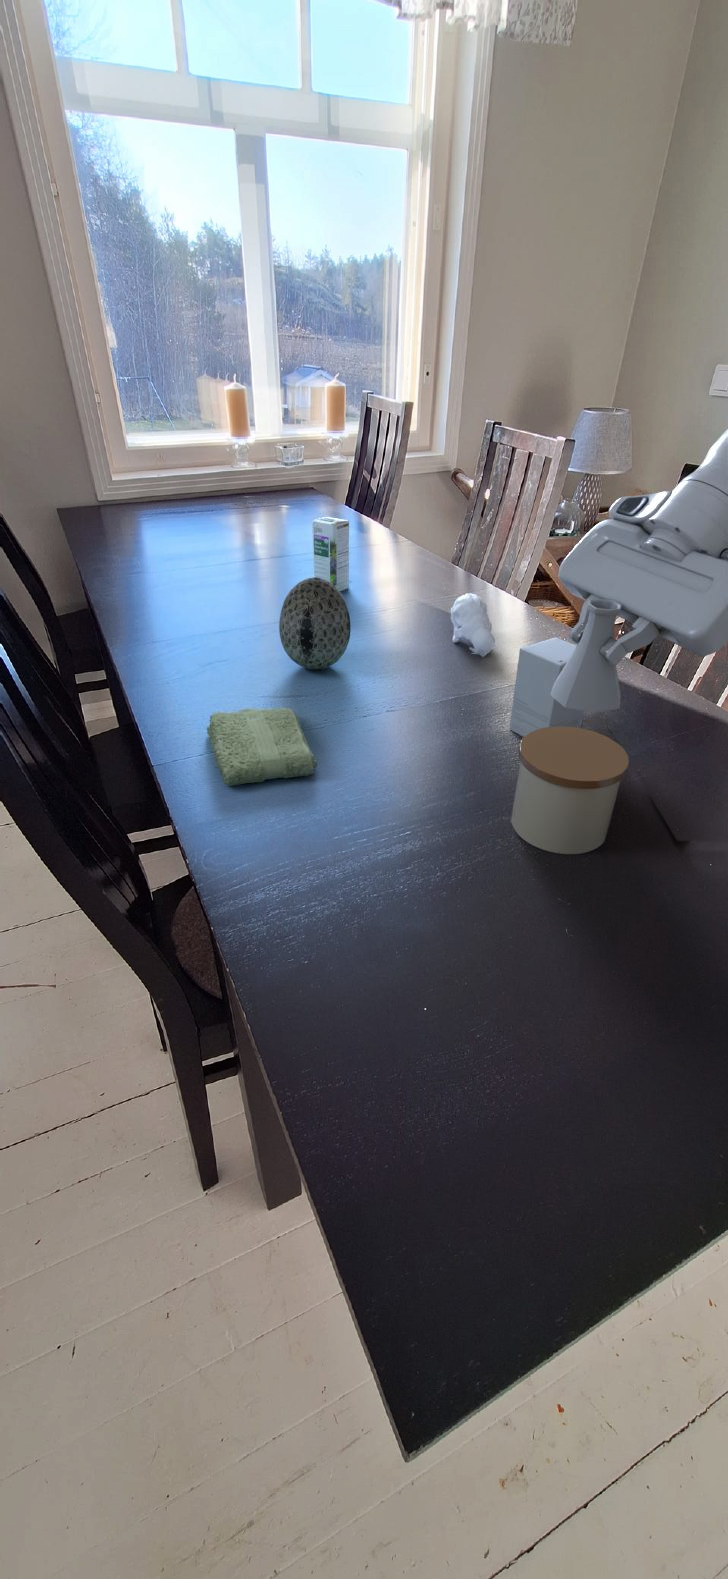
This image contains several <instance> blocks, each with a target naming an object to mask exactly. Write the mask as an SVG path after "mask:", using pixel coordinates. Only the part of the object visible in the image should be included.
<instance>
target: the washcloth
mask: <svg viewBox="0 0 728 1579" xmlns="http://www.w3.org/2000/svg"><path fill="white" fill-rule="evenodd" d="M300 724H301V722H300V719H299V718H298V715H297V712H296V711H295V710H294V709H292V708H288V707H276V708H244V709H240V710H238V711H234V712H233V711H232V712H227V711H216V712H213V713H212V715H210V716H209V725H208V726H207V727H206V734H207V736H208V738H209V742H210V745H211V748H212V753H213V756H214V760H215V762H216V767H217V768H218V771H219V773H220V775H221V777H222V781H223V783H224V784H225V785H226V786H227V787H233V786H238V785H242V784H252V783H253V784H254V783H262V782H264V781H265V780H273V779H278V778H282V779H290V778H298V777H308V776H309V775H313V774H314V773H315V770H314V769H316V768H317V766H318V761H317V760H316V758H315V756H314V753H313V751H312V750H311V748H310V745H309V743H308V740H307V739H306V737H305V734H304V732H303V730H302V726H300Z"/></svg>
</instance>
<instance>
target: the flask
mask: <svg viewBox="0 0 728 1579" xmlns="http://www.w3.org/2000/svg"><path fill="white" fill-rule="evenodd" d="M621 606H622V605H621V604H620V603H618V602H616V601H614V600H607V599H594V600H589V603H588V610H589V617H588V622H587V624H586V627H585V630H584V632H583V635H582V637H581V639H580V641H579V643H578V644H576V648H575V650H574V651H573V653H572V655H571V657H570V658H569V660H568V661H567V663H566V665H565V666H564V668H563V669H562V671H561V673H560V674H559V676H558V678H557V679H556V681H555V683H554V685H553V688H552V691H551V696H552V697H553V698H554V699H556V700H557V701H558V702H559V703H560V704H561V705H562V706H564V707H565V708H570V709H577V710H583V711H584V712H590V713H600V712H607V711H613V710H620V706H621V697H622V694H621V688H620V680H619V676H618V668H617V665H613V664H611V663H609V662H608V661H606V660H605V659H604V658H603V657H602V656H601V655H600V654H599V650H600V648H601V647H602V646H604V645H605V644H606V642H607V641H608V639H609V638H610V637H611V638H613V639H615V624H616V620H617V617H618V616H617V615H619V614H620V612H621Z"/></svg>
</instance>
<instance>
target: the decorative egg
mask: <svg viewBox="0 0 728 1579" xmlns="http://www.w3.org/2000/svg"><path fill="white" fill-rule="evenodd" d="M351 625H352V624H351V615H350V612H349V607H348V604H347V602H346V600H345V598H344V596H343V595H342V593H341V591H340V592H339V590H338V589H337V588H336V587H335V586H334V585H333V584H332V583H330V582H329V581H327V580H324V579H322V578H316V577H314V576H312V577H308V578H305V579H303V580H301V581H299V582H298V583H296V584H295V585H294V586H293V587H292V588H291V589H290V591H289V592H288V593H287V594H286V597H285V599H284V601H283V603H282V606H281V610H280V615H279V622H278V629H279V630H278V631H279V638H280V642H281V646H282V648H283V650H284V652H285V653H286V655H287V656H288V658H289V659H291V661H293V662H294V663H295V664H296V665H297V666H299V667H302V668H304V669H308V670H312V671H313V670H315V671H316V670H323V669H326V668H329V667H331V666H333V665H335V663H337V662H338V661H339V660H340V659H341V658H342V656H343V655H344V654H345V652H346V651H347V648H348V646H349V643H350V638H351V632H352V631H351V630H352V629H351V628H352V627H351Z"/></svg>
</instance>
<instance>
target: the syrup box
mask: <svg viewBox="0 0 728 1579" xmlns="http://www.w3.org/2000/svg"><path fill="white" fill-rule="evenodd" d="M312 550H313V552H312V555H313V556H312V557H313V577H316V578H322V579H324V580H327V581H329V582H330V583H332V584H333V585H334V586H335V587H336V588H337V589H338V590H339V592H340V593H341V592H342V591H345V590H347V589H349V587H350V581H349V580H350V519H342V518H337V517H331V516H322V517H319V518H316V519H314V520H312Z"/></svg>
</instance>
